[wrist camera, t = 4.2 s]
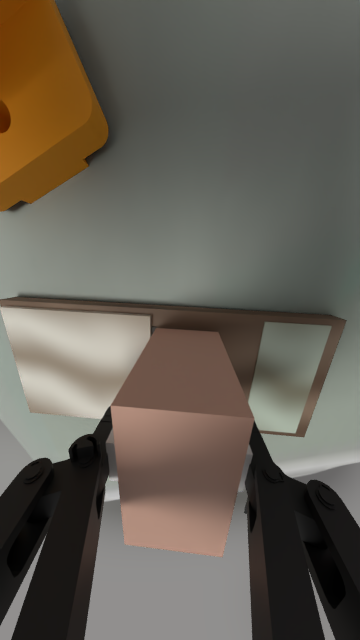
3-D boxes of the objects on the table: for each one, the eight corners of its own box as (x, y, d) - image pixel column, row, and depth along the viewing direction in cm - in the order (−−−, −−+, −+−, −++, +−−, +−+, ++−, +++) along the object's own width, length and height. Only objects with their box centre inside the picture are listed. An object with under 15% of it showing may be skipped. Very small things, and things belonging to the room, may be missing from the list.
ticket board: (16, 296, 15) (-8, 300, 14) (330, 314, 14) (352, 322, 12) (43, 401, 19) (26, 415, 17) (294, 423, 18) (307, 442, 16)
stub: (156, 327, 13) (110, 405, 6) (218, 332, 13) (254, 418, 6) (156, 414, 16) (124, 544, 9) (207, 419, 16) (222, 557, 8)
